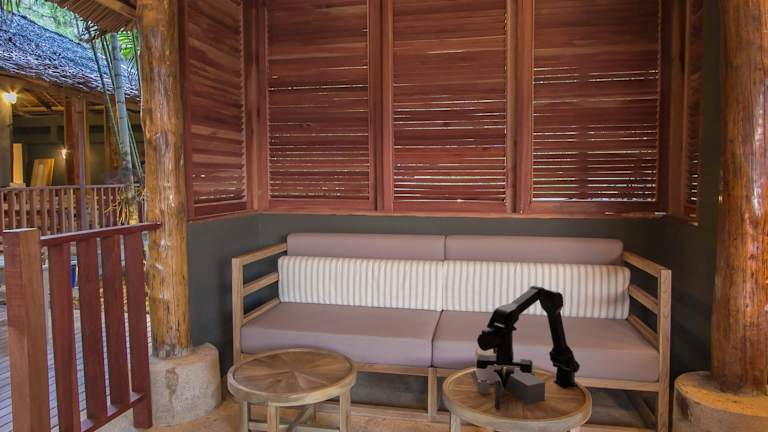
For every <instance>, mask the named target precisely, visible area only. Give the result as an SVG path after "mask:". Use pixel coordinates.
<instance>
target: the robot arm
mask: <svg viewBox="0 0 768 432" xmlns="http://www.w3.org/2000/svg"><path fill="white" fill-rule="evenodd" d="M536 302H539V305H540V307H541V308H542V310H543V311H544V312H545V313H546V316H547V317H546V318H547V320H548V326H549V331H550V335H551V341H552V348H551V350H550V351H549V352H548V354H549V360H550V361H551V363H552V367H553V368H556V373H555V380H553V383H554V384H556V385H558V386H561V388H564V389H568V388H573V387H576V386H578V383H577V382H576V381H575V377H576V376H575V375H576V374H577V373H578V372H579V370H580V367H581V364H579V362H578V361H577V360H576V359H575V358H576V357H575V355H574V352H573V350H572V349H571V347H570V346H569V345H568V344H567V339H566V333H565V330H564V322H563V317H562V313H561V311H562V309H563V307H564V296H563V294H562V293H561V292H559V291H555V290H550V289H546V288H544V287H542V286H539V285H538V286H537V285H531V286H530V287H529V289H528V290H526V291H525V292H524V293H522V294H521V295H519V296H518V297H516V299H515V300H513V301H512V302H510V303H507V304H503V305H500V306H498V307H496V308H495V309H494V310H493V312H492V314H491V317H490V318H489V321H488V323H487V325H486V328H487V329H483V330H481V333H480V334H479V335H478V337H477V340H476V341H477V345H478V347H480V349H481V350H483V351H487V350H490V349H493V354H496V360H489V356H479V357H478V359H477V362H476V361H475V369H476V368H479V369H486V368H487V367H488V365H491V366H494V372H496V373H497V374H498V379H500V380H501V383H502V385H503V389H504V388H505V387H506V384H507V381H508V379H509V377H510V375H511V374H514V371H515V369H520V371H521V372H522V373H531V374H533V360H531V359H526V358H525V359H524V358H521V359H520V361H519V362H518V361H514V348H513V347H514V345H513V336H514V335H513V334H514V333H513V332H515V331H517V330H518V328H517V327H516V326H515V324H516V323H517V322H518V321H519V320H520V319H519V318H520V315H521V314H522V313H524V312H525V311H526V310H528V309H529V308H530V307H531V306H533V305H535V303H536ZM504 368H505V371H504ZM504 372H505V377H504Z"/></svg>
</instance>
